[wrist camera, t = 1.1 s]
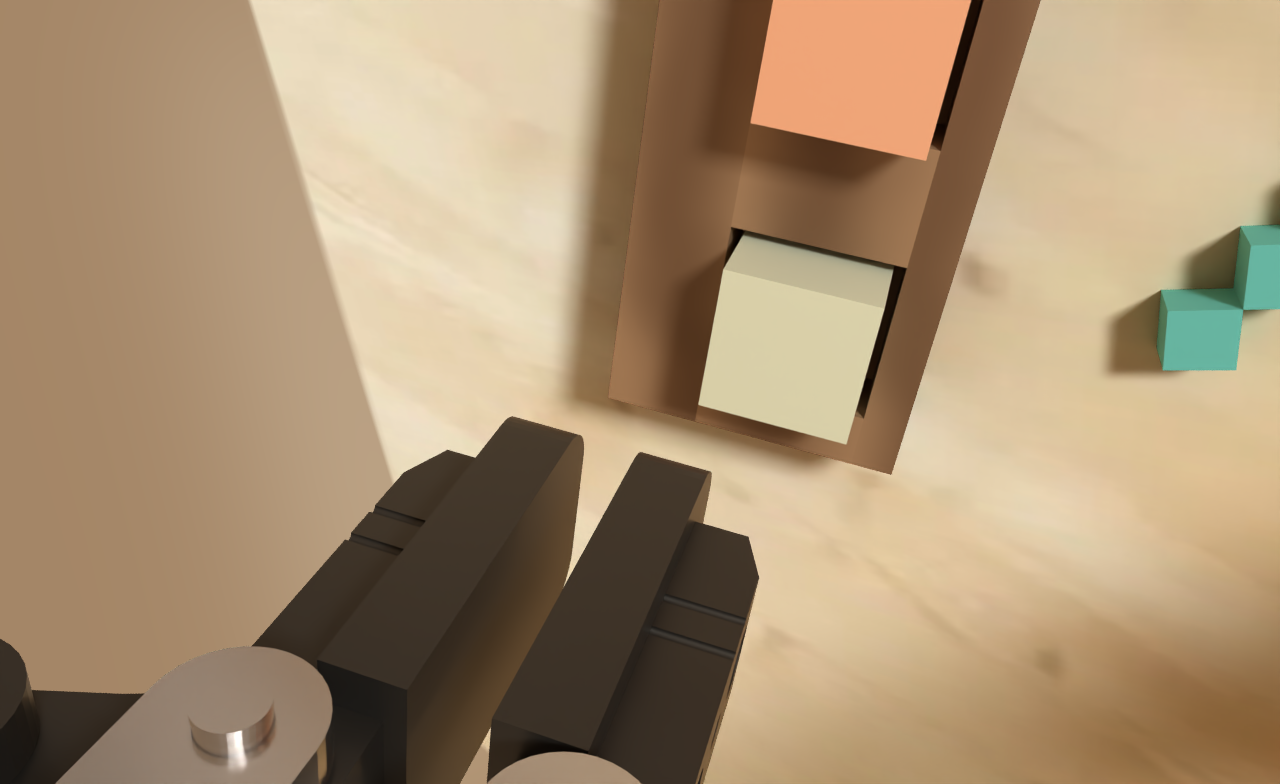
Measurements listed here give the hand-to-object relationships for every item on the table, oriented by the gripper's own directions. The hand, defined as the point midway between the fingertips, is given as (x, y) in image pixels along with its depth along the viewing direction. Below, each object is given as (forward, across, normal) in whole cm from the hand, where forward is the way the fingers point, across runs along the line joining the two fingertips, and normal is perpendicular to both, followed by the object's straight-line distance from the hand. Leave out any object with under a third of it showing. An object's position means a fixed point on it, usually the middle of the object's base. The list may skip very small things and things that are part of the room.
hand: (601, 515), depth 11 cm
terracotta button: (+26, 0, 0) cm, 26 cm away
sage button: (+26, 0, +10) cm, 28 cm away
